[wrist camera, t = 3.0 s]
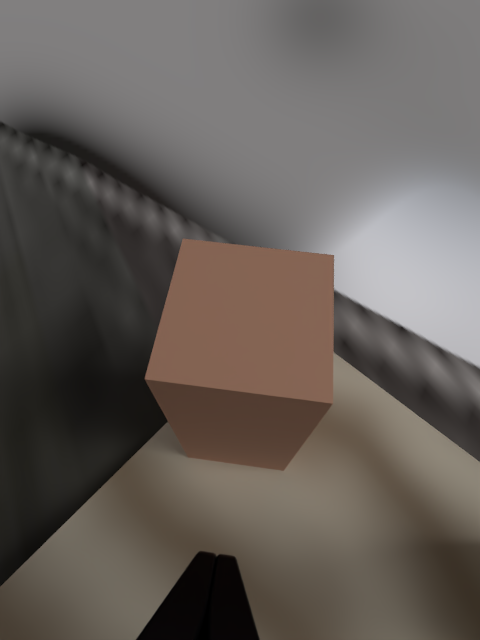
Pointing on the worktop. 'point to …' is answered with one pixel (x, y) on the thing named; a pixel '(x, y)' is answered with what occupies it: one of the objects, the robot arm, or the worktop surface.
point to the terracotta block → (245, 351)
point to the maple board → (276, 535)
